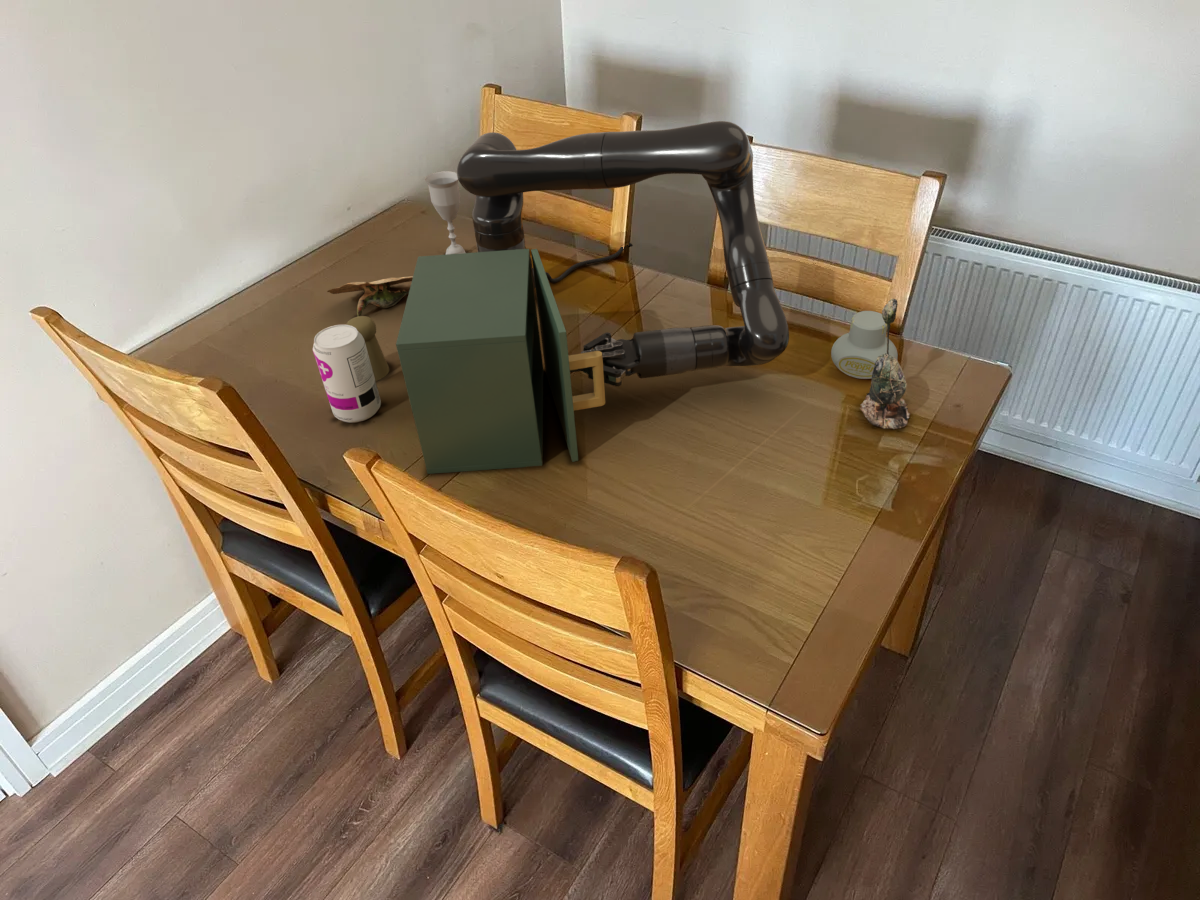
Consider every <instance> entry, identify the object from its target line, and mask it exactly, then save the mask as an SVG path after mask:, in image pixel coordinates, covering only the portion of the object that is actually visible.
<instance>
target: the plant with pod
mask: <svg viewBox="0 0 1200 900" xmlns="http://www.w3.org/2000/svg"><path fill="white" fill-rule="evenodd" d="M897 311H898V300H897V299H896V298H890V299H889V300H888V302H887V303H886V304H885V305H884V306H883V308H882V310H881V314H882V317H883V320H884V322H885V323H886V324H887V332H886V337H887V354H886V353H885V354H884V355H880V356H878V358H877V360H876V363H875V365H874V369H873V373H872V379H871V382H870V387H869V391H868V392H867V393H866V395H865V399H864V400H863V402H861V404H860V407H859V410H860V411H861V412H862V413H863V416H864V417H865V418H866V420H867V422H868V423H869V424H870V425H872V426H874V427H878V428H882V429H893V430H895V429H896V430H898V429H902V428H904V427H906V426H907V425H908V423H909V422H908V420H909V418H910V415H911V413H910V412H909V411H908V409H909V408H908V404H907V403H906V401H905V400H906V399H904V398H903V397H904V395H905V393H906V391H907V385H908V384H907V383H908V382H907V381H906V377H905V373H904V371H903V369H902V366H901V364H900V363H899V361H898V359H896V358H895V357H893V356H891V355H889V352H888V350H889V339H890V330H891V324H893V323H895V320H896V317H897Z"/></svg>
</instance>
